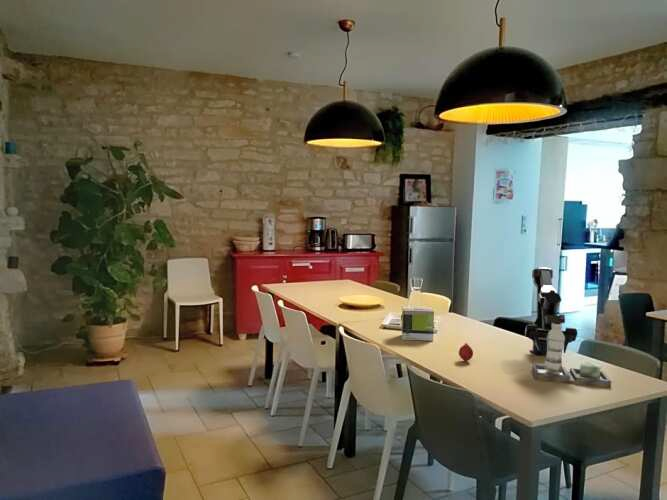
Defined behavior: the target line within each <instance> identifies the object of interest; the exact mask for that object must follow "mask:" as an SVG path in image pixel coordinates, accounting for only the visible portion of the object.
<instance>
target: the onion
mask: <svg viewBox="0 0 667 500" xmlns="http://www.w3.org/2000/svg"><path fill="white" fill-rule="evenodd" d="M458 355H459V357H460V359H462V361H464V362H469V361H470V360H472V358H473V356H474V351H473V348H472V347H471V346H470V345H469V343H467V342H465V343H464V344H463V345H462V346H461V347H459V351H458Z"/></svg>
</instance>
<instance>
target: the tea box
mask: <svg viewBox="0 0 667 500" xmlns="http://www.w3.org/2000/svg"><path fill="white" fill-rule="evenodd" d="M401 312H402V313H401V338H402V340H403V341H404V340H406V341H427V342H429V341H430V342H433V341H434V328H435V327H434V322H435V320H434V319H435V311H434V310H433V307H417V306H414V307H413V306H410V307H409V306H403V307H402V309H401Z"/></svg>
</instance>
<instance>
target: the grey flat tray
mask: <svg viewBox="0 0 667 500" xmlns="http://www.w3.org/2000/svg"><path fill="white" fill-rule="evenodd" d="M562 367H563V369H562V372H561V373H560V374H550V373H547V372H546V371H545V369H544V364H536V363H535V364H534V363H533V364H532V367H531V368H532V369H531V371H532V373H533V377H534V379H535V380H537V381H546V382H557V383H562V384H563V383H565V384H575V385H583V386H591V387H592V386H595V387H602V388H610V389H611V388H612V380H611V379H610V378H609V377H608V375H607V374H606V373H605V371H604V370H601V368H602V366H601V365H600V364H598V363H594V362H585V361H584V362H581V363H580V365H579V368H576V367H575V368H574V367H569V371H567V368H566V367H564V366H562Z"/></svg>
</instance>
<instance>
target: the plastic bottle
mask: <svg viewBox="0 0 667 500" xmlns="http://www.w3.org/2000/svg"><path fill="white" fill-rule="evenodd" d="M551 328H552V329H551V330H550V331H549V332H548V334H547V355H545V356H546V358H545V361H544V364H543V365H544V369H545V371H546V372H547V373H550V374H560V373H561V372H562V369H563V367H564V366H563V349H564V340H565V336H564V334H563V332H562V331H563V330H562V329H563V323H559V324H557V323H551Z"/></svg>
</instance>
